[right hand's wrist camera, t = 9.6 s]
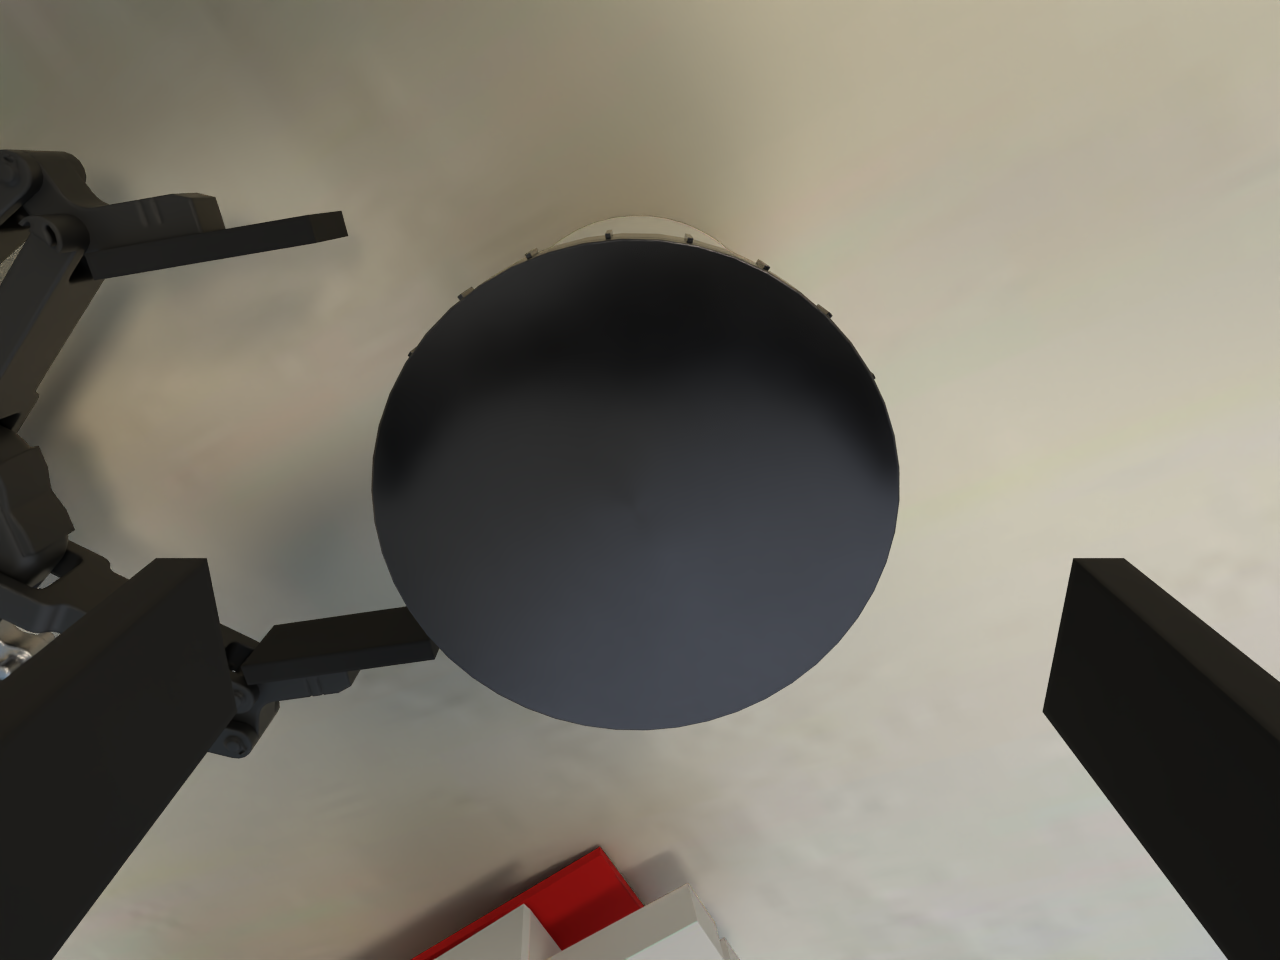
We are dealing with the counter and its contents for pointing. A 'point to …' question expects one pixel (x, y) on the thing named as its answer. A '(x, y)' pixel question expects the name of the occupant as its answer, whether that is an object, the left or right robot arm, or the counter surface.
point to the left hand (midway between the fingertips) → (391, 444)
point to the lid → (635, 482)
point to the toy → (589, 923)
